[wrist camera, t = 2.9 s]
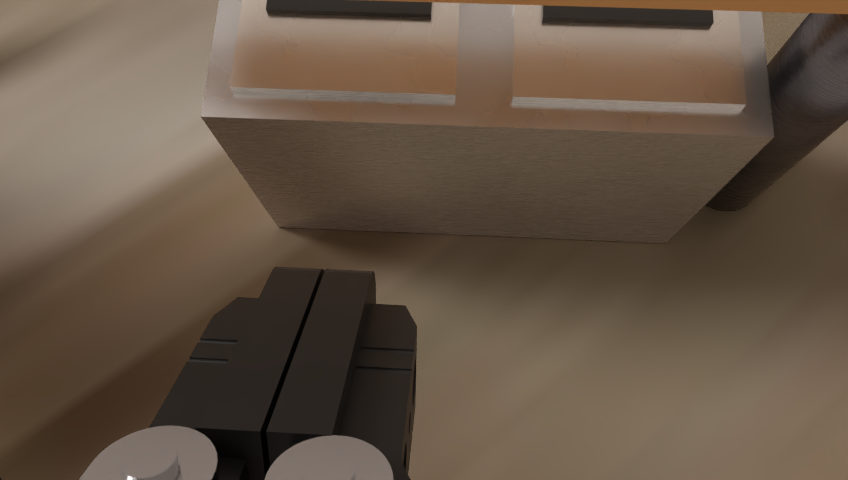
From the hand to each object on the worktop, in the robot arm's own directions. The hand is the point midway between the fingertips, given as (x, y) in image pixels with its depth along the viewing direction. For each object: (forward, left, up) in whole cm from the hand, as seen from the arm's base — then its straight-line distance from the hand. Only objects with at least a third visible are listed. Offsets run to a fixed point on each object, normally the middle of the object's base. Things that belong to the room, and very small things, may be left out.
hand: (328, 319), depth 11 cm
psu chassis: (+5, +10, -17) cm, 21 cm away
